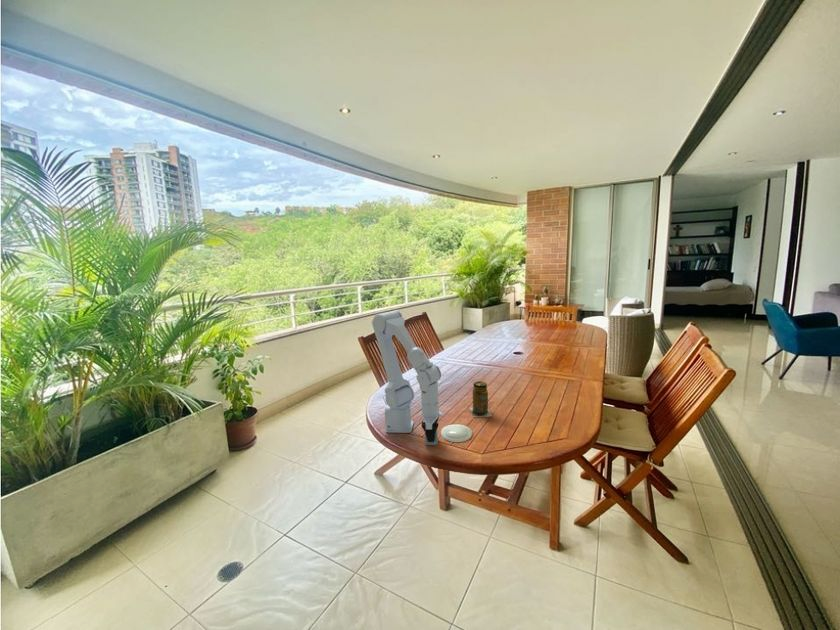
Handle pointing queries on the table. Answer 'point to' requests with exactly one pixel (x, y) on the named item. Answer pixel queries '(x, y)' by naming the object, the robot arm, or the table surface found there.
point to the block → (434, 440)
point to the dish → (456, 433)
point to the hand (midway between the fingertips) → (431, 437)
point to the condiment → (480, 400)
